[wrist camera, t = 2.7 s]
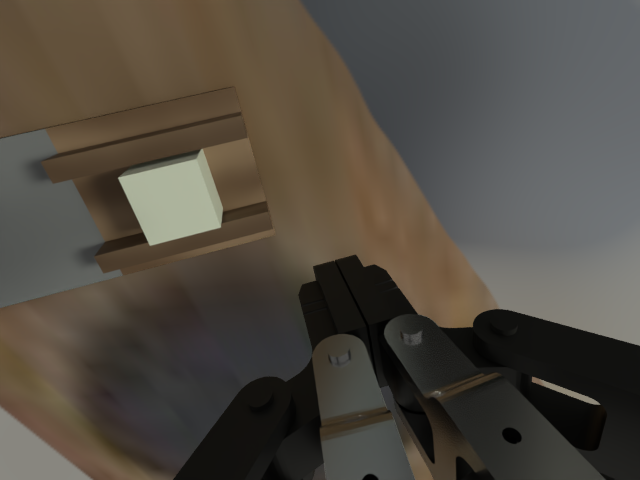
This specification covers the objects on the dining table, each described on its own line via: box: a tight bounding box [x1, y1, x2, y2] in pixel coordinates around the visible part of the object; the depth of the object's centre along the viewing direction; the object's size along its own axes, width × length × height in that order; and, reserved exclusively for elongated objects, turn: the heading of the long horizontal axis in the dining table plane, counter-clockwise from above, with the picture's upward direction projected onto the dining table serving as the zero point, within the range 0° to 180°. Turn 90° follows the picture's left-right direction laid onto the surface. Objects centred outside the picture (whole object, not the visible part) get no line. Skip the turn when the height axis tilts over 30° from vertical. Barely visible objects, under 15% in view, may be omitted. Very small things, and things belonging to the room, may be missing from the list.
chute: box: [41, 87, 276, 275], centre depth 27 cm, size 12×13×3 cm
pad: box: [0, 128, 123, 308], centre depth 27 cm, size 12×11×1 cm
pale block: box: [118, 149, 223, 246], centre depth 26 cm, size 5×5×4 cm
